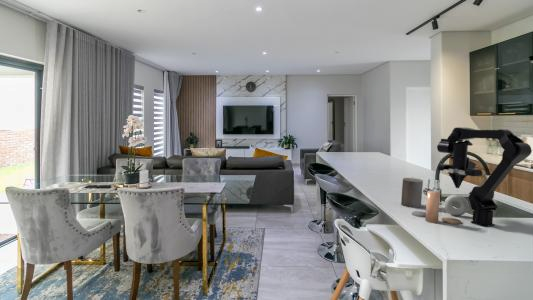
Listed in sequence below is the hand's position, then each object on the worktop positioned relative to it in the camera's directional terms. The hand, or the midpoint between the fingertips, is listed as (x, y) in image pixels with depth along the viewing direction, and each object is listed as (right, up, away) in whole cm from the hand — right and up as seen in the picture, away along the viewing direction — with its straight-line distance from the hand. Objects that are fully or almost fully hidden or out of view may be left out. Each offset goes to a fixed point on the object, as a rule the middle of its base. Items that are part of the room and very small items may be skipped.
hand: (457, 188), depth 151 cm
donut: (0, -13, +1) cm, 13 cm away
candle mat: (-16, -13, +2) cm, 21 cm away
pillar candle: (-13, -11, +19) cm, 26 cm away
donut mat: (-7, -14, -8) cm, 17 cm away
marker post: (-16, -14, -8) cm, 22 cm away
